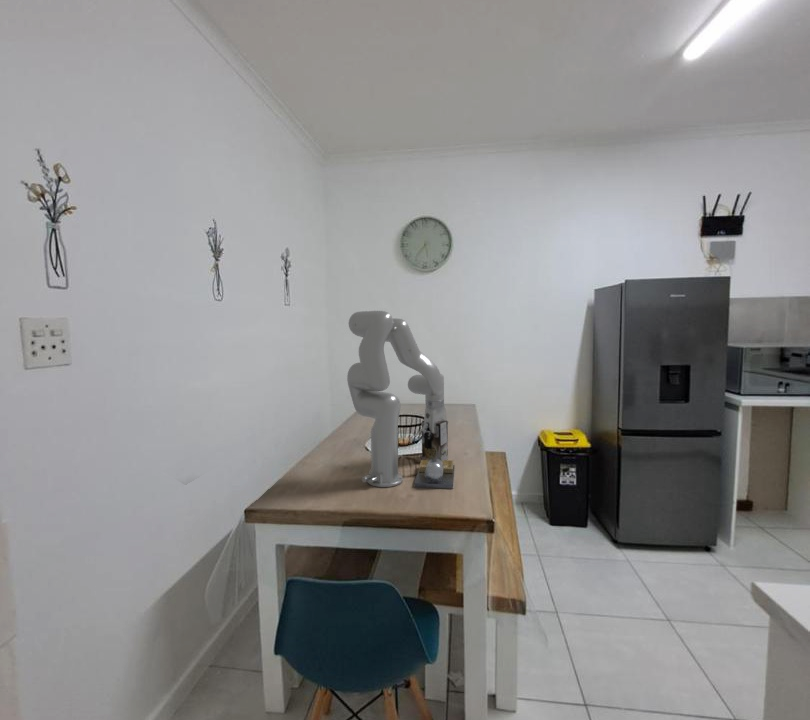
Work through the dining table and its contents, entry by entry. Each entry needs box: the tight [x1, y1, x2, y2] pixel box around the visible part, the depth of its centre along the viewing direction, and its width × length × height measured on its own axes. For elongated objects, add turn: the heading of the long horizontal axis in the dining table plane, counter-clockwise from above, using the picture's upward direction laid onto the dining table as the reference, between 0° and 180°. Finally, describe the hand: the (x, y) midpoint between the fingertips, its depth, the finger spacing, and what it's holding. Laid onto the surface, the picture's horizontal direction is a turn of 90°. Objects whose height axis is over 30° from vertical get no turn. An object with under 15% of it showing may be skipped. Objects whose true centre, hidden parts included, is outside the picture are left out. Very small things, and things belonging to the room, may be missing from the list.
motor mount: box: [414, 458, 455, 490], centre depth 153 cm, size 20×13×8 cm, turn 172°
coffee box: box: [421, 420, 449, 460], centre depth 172 cm, size 9×6×16 cm
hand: (435, 445), depth 173 cm, fingers open, 9 cm apart
